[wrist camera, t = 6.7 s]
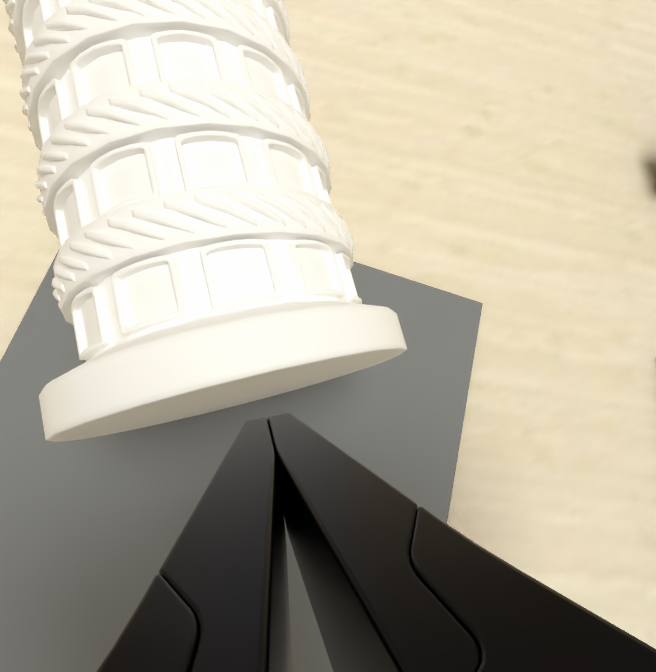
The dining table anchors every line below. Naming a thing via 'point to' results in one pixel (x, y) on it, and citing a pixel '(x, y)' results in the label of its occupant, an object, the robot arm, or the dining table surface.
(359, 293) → the rubber mat
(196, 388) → the decorative container
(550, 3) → the dining table surface
